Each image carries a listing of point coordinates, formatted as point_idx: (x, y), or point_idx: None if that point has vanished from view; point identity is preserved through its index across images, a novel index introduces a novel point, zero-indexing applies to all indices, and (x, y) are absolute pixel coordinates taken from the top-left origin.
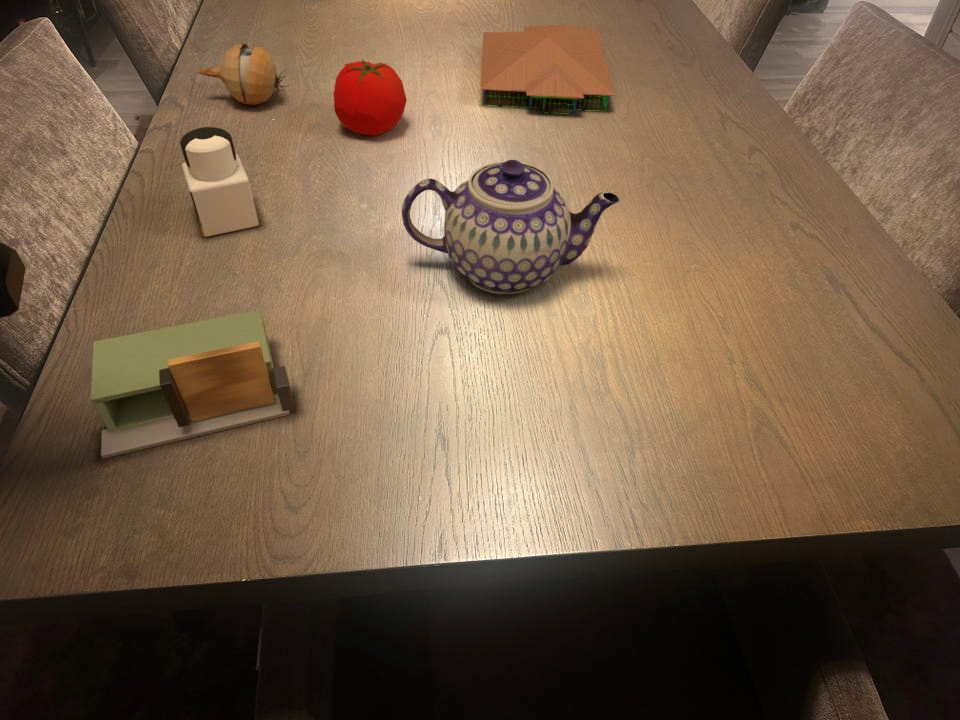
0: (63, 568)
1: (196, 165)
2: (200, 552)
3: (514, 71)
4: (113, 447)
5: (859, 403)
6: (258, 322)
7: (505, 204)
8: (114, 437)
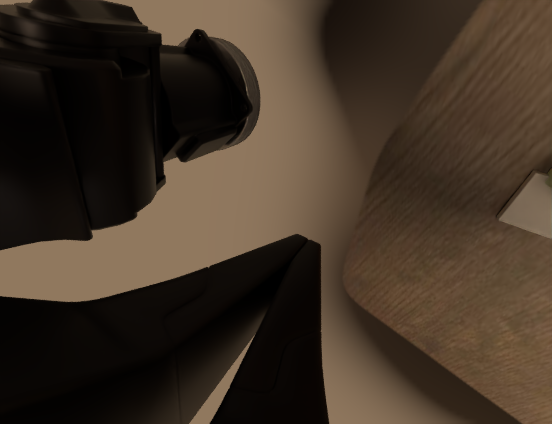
0: (382, 301)
1: None
2: (503, 382)
3: None
4: (526, 218)
5: None
6: None
7: None
8: (543, 201)
